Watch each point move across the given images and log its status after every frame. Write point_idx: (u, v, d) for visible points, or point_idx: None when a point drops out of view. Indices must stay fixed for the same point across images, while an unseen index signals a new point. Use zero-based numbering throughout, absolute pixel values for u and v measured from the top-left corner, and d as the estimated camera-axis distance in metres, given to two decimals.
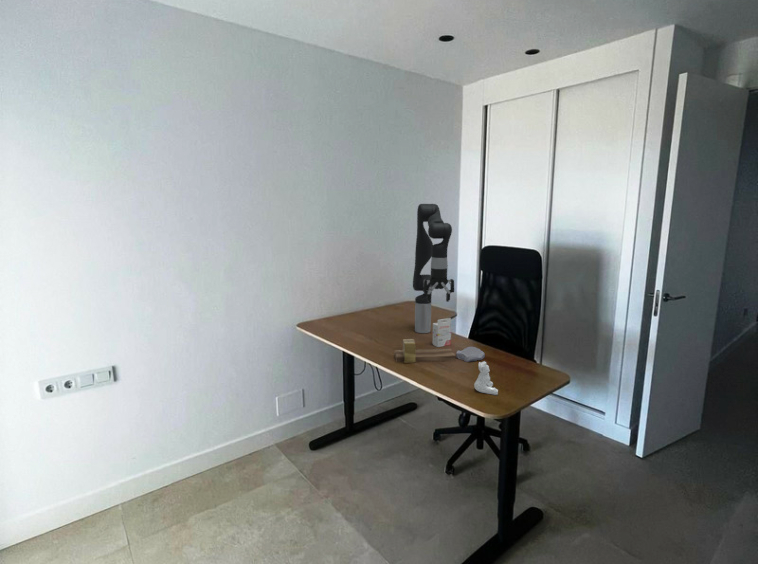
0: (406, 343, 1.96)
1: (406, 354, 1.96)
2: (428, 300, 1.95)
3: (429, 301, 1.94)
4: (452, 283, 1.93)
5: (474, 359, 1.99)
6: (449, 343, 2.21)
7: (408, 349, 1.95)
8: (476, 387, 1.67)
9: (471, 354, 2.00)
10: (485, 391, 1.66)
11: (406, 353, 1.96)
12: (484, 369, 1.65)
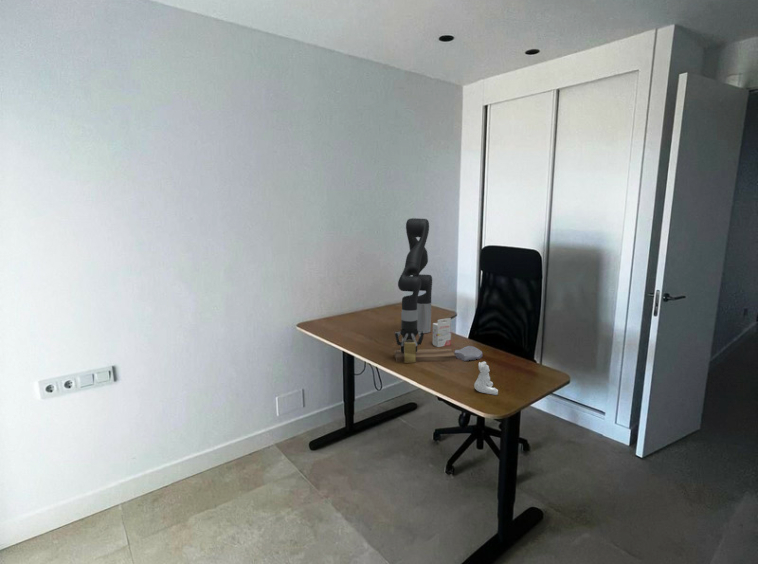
0: (406, 343, 1.96)
1: (406, 354, 1.96)
2: (402, 352, 1.99)
3: (403, 353, 1.99)
4: (421, 336, 1.98)
5: (472, 358, 2.00)
6: (449, 343, 2.21)
7: (408, 349, 1.95)
8: (476, 387, 1.67)
9: (469, 353, 2.01)
10: (485, 391, 1.66)
11: (406, 353, 1.96)
12: (484, 369, 1.65)
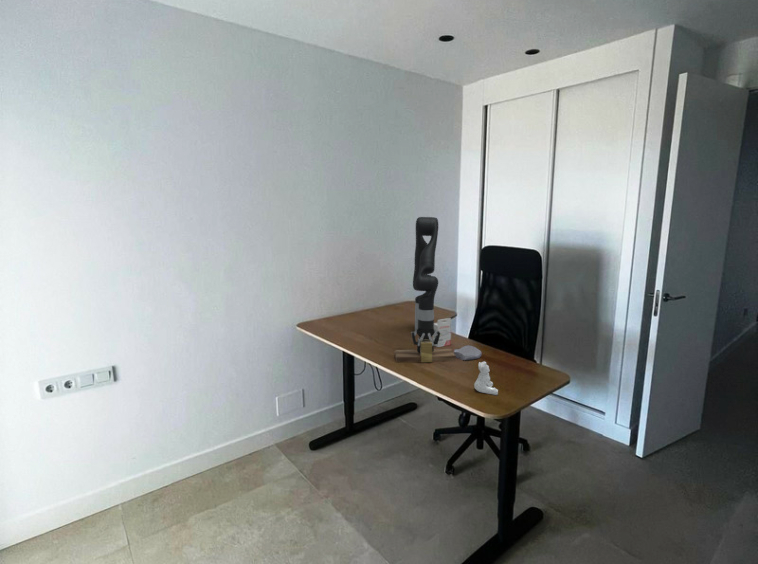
0: (423, 343, 1.96)
1: (423, 354, 1.96)
2: (418, 351, 2.00)
3: (419, 352, 1.99)
4: (438, 335, 1.98)
5: (471, 358, 2.00)
6: (449, 343, 2.21)
7: (425, 349, 1.96)
8: (476, 387, 1.67)
9: (468, 353, 2.02)
10: (485, 391, 1.66)
11: (423, 353, 1.96)
12: (484, 369, 1.65)
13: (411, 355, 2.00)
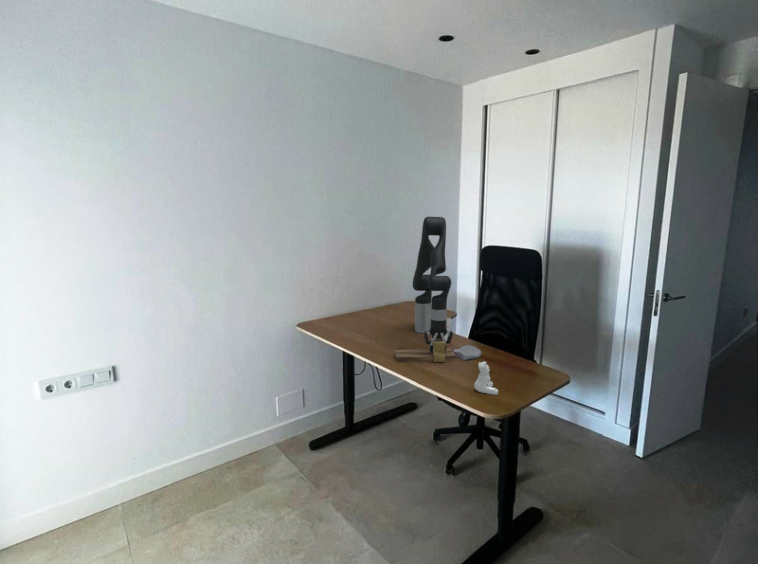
0: (436, 342, 1.97)
1: (436, 353, 1.96)
2: (431, 351, 2.00)
3: (432, 352, 2.00)
4: (450, 335, 1.99)
5: (471, 357, 2.01)
6: None
7: (438, 348, 1.96)
8: (476, 387, 1.67)
9: (468, 352, 2.02)
10: (485, 391, 1.66)
11: (436, 352, 1.96)
12: (484, 369, 1.65)
13: (411, 355, 2.00)
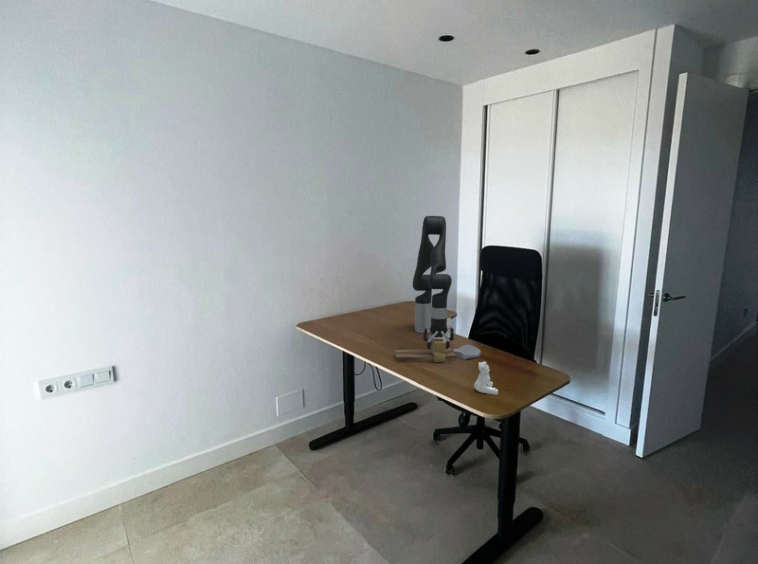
0: (436, 342, 1.97)
1: (436, 353, 1.96)
2: (428, 348, 2.00)
3: (429, 349, 1.99)
4: (452, 332, 1.98)
5: (471, 357, 2.02)
6: None
7: (438, 348, 1.96)
8: (476, 387, 1.67)
9: (468, 352, 2.03)
10: (485, 391, 1.66)
11: (436, 352, 1.96)
12: (484, 369, 1.65)
13: (411, 355, 2.00)
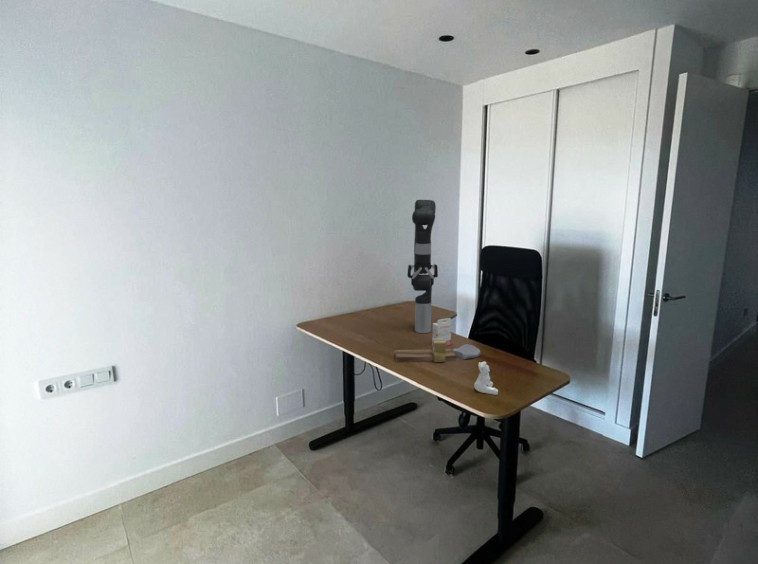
0: (436, 342, 1.97)
1: (436, 353, 1.96)
2: None
3: (413, 285, 2.02)
4: (435, 268, 2.00)
5: (471, 356, 2.02)
6: (449, 343, 2.21)
7: (438, 348, 1.96)
8: (476, 387, 1.67)
9: (467, 351, 2.04)
10: (485, 391, 1.66)
11: (436, 352, 1.96)
12: (484, 369, 1.65)
13: (411, 355, 2.00)
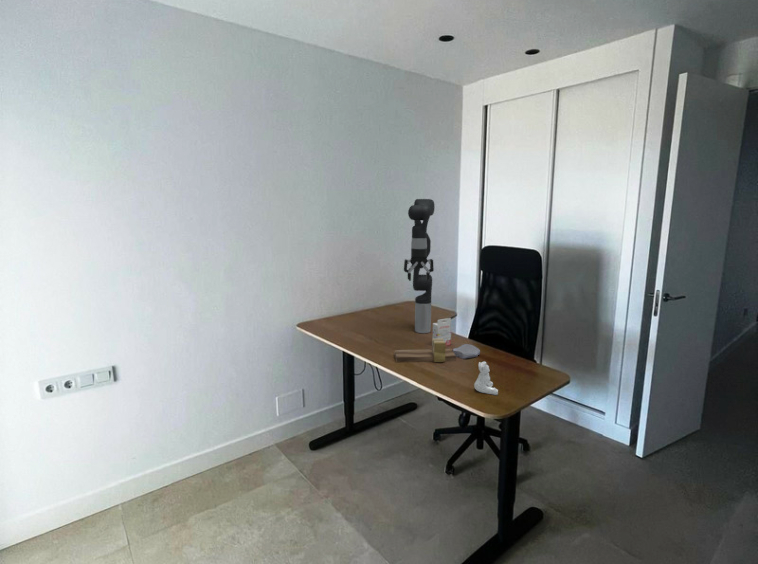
0: (436, 342, 1.97)
1: (436, 353, 1.96)
2: (409, 279, 2.05)
3: (410, 280, 2.05)
4: (431, 263, 2.04)
5: (470, 356, 2.03)
6: (449, 343, 2.21)
7: (438, 348, 1.96)
8: (476, 387, 1.67)
9: (467, 351, 2.04)
10: (485, 391, 1.66)
11: (436, 352, 1.96)
12: (484, 369, 1.65)
13: (411, 355, 2.00)
